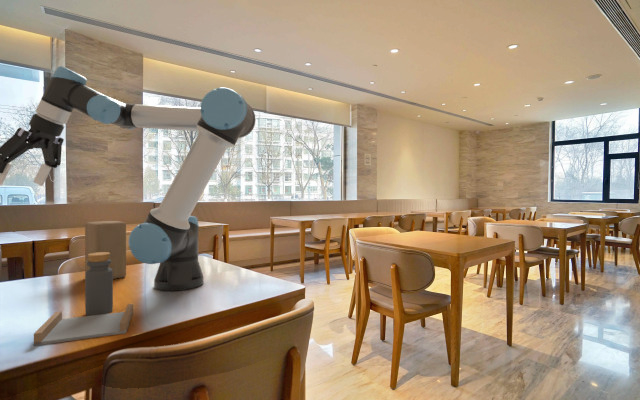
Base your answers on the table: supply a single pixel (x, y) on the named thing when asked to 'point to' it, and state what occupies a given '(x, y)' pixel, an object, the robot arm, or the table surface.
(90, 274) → the bottle
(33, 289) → the table surface
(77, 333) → the grey tray
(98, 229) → the wooden block
